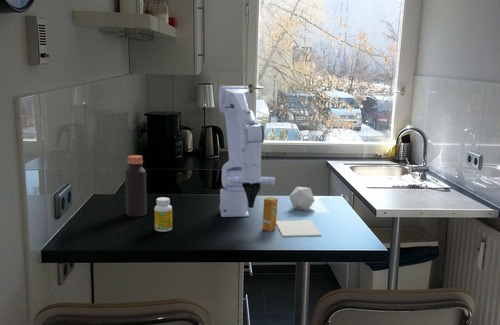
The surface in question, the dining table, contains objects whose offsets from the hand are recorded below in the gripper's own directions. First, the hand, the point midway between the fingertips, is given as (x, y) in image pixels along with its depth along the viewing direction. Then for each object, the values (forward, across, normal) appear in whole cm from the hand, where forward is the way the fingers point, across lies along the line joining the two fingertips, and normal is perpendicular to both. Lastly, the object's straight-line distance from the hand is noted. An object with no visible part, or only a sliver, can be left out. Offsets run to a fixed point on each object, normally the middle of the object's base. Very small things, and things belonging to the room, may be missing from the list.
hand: (250, 206), depth 154 cm
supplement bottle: (+8, -27, +2) cm, 28 cm away
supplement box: (+8, +6, 0) cm, 10 cm away
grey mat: (+7, +15, 0) cm, 17 cm away
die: (+8, +21, +22) cm, 31 cm away
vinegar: (+8, -37, +18) cm, 42 cm away
